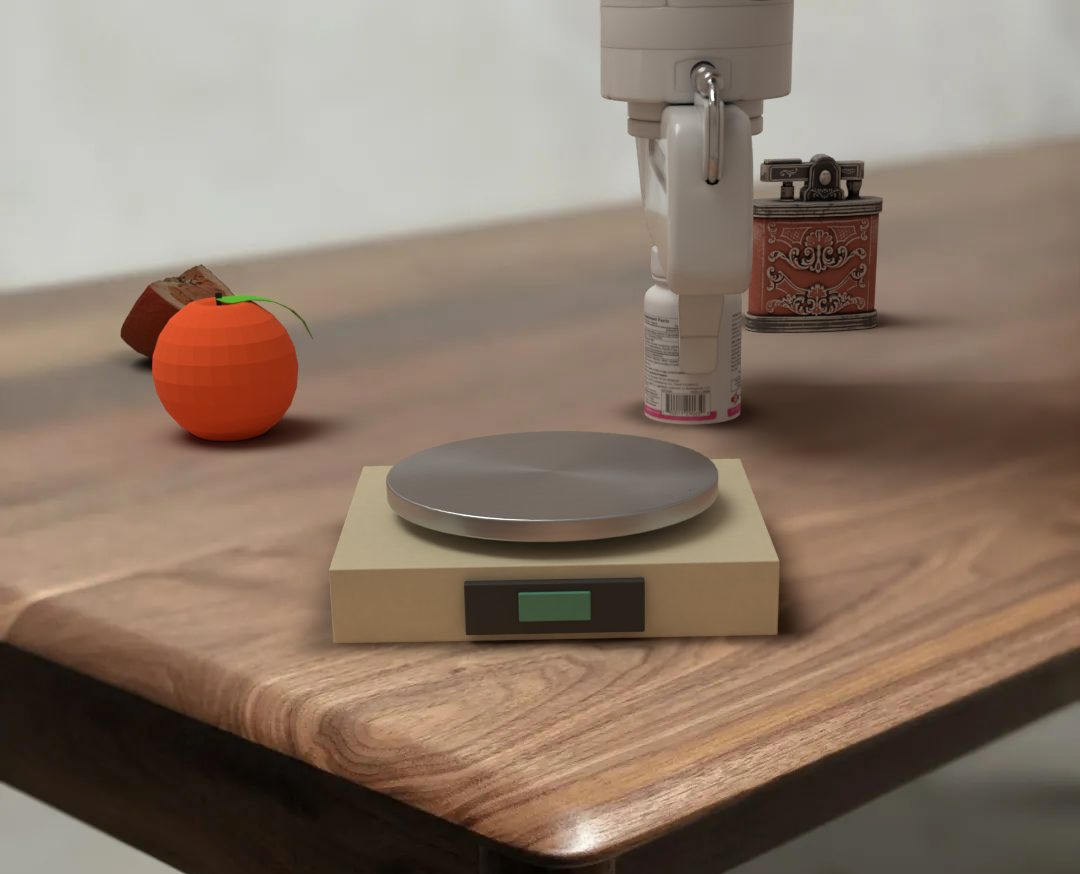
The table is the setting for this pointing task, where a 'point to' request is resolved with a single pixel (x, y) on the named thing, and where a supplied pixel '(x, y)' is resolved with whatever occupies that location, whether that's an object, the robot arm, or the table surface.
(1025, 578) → the table surface
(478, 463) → the pan
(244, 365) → the clementine
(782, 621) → the table surface
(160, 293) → the brown block
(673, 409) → the pill bottle
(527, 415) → the table surface
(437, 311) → the table surface
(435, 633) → the scale
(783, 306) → the lighter
